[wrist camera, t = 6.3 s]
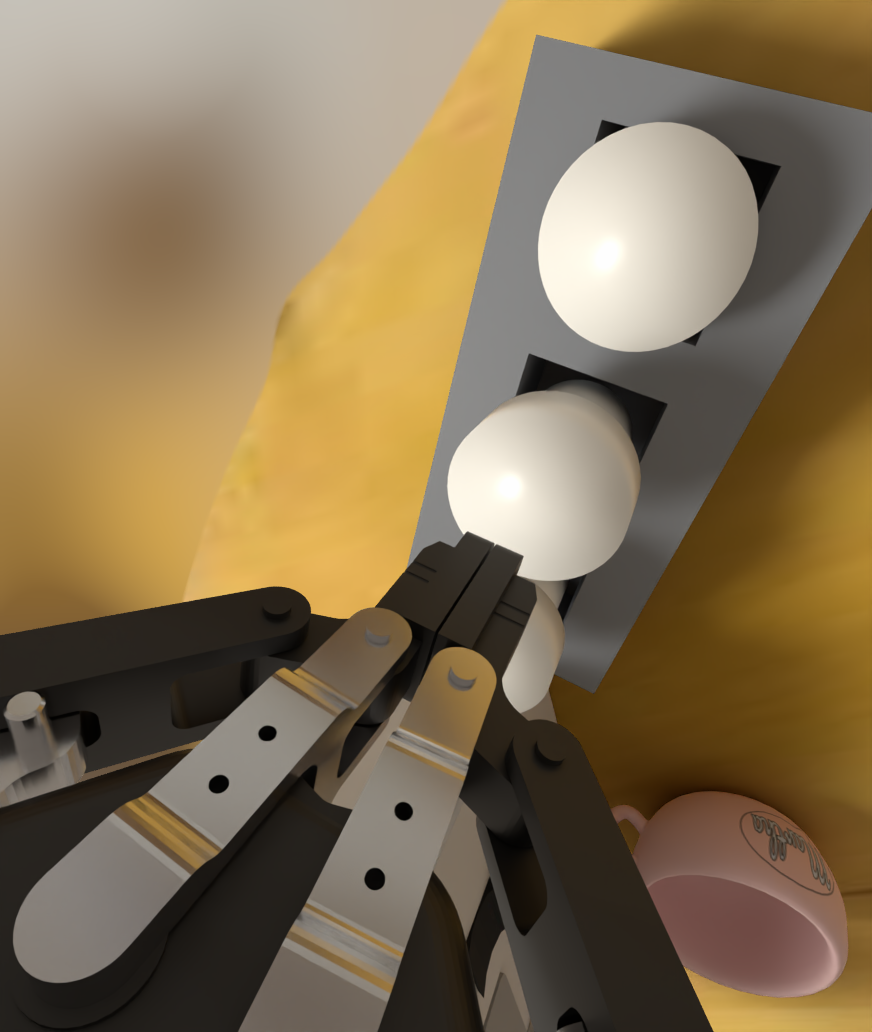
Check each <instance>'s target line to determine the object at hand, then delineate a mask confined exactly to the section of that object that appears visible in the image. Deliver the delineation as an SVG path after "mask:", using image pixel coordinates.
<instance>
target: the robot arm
mask: <svg viewBox="0 0 872 1032" xmlns="http://www.w3.org/2000/svg"><path fill="white" fill-rule="evenodd" d="M494 545H495V543H493V542H491V541H489V540H487V539H484V538H482V537H480V536H478V535H475V534H473V533H471V532H469V531H467V532H466V533H465V534H464V536H463V537H462V538H461V540H460V541H459V542H458V544H457V545H456V546H455V547H452V546H450V545H448V544H446V543H444V542H441V541H439V542H436V543H434V544H432V545H430V546H427V547H425V548H423V549H422V551H421V552H420V553H419V554H418V556H417V557H416V558H415V559H414V561H413V563H411V564H410V565H409V566H408V568H407V569H406V570H405V572H404V573H403V574H402V575H401V576H400V577H399V579H398V580H397V581H396V582H395V583H394V585H393V586H392V587H391V588H390V589H389V591H388V592H387V593H386V594H385V596H384V597H383V598H382V599H381V600H380V602H379V603H378V604H377V605H376V606H375V608H367V609H363V610H360V611H358V612H357V613H355V614H354V615H353V616H351V617H350V618H349V619H337V618H331V617H326V616H321V615H316V614H311V607H310V604H309V602H308V601H307V599H306V598H305V597H304V596H303V595H302V594H300V593H299V592H297V591H295V590H293V589H290V588H286V587H266V588H261V589H255V590H250V591H244V592H239V593H233V594H228V595H222V596H216V597H211V598H205V599H200V600H194V601H189V602H183V603H178V604H172V605H166V606H161V607H155V608H150V609H144V610H139V611H133V612H128V613H123V614H116V615H111V616H105V617H100V618H94V619H89V620H84V621H78V622H73V623H66V624H61V625H55V626H50V627H44V628H38V629H33V630H28V631H22V632H16V633H11V634H5V635H0V1032H484V1027H483V1022H482V1017H481V1012H480V1007H479V1002H478V998H477V993H476V988H475V983H474V978H473V973H472V968H471V963H470V959H469V954H468V949H467V944H466V939H465V935H464V931H463V927H462V924H461V921H460V918H459V915H458V912H457V909H456V907H455V905H454V903H453V901H452V899H451V896H450V895H449V893H448V891H447V890H446V888H445V886H444V885H443V883H442V882H441V880H440V879H439V878H438V876H437V875H436V874H435V873H434V871H433V868H434V865H435V862H436V859H437V857H438V854H439V851H440V848H441V845H442V842H443V840H444V837H445V834H446V831H447V828H448V825H449V822H450V820H451V817H452V814H453V811H454V808H455V805H456V802H457V800H458V797H459V798H460V799H461V800H462V801H463V802H464V803H465V804H466V805H467V806H468V807H469V808H470V809H471V810H472V811H473V812H474V813H475V814H476V827H477V832H478V835H479V839H480V842H481V846H482V850H483V853H484V857H485V860H486V864H487V867H488V871H489V874H490V878H491V881H492V885H493V888H494V892H495V895H496V899H497V902H498V906H499V910H500V913H501V917H502V920H503V924H504V927H505V931H506V934H507V938H508V941H509V945H510V948H511V952H512V955H513V959H514V962H515V966H516V969H517V973H518V977H519V980H520V984H521V987H522V991H523V994H524V998H525V1001H526V1005H527V1008H528V1012H529V1015H530V1019H531V1022H532V1026H533V1029H534V1032H713V1030H712V1027H711V1025H710V1023H709V1021H708V1019H707V1017H706V1015H705V1012H704V1010H703V1008H702V1006H701V1004H700V1002H699V999H698V997H697V995H696V993H695V991H694V989H693V986H692V984H691V982H690V980H689V978H688V976H687V973H686V971H685V969H684V967H683V965H682V963H681V960H680V958H679V956H678V954H677V952H676V950H675V948H674V945H673V943H672V941H671V939H670V937H669V935H668V932H667V930H666V928H665V926H664V924H663V922H662V919H661V917H660V915H659V913H658V911H657V909H656V906H655V904H654V902H653V900H652V898H651V896H650V893H649V891H648V889H647V887H646V885H645V883H644V881H643V878H642V876H641V874H640V872H639V870H638V868H637V865H636V863H635V861H634V859H633V857H632V855H631V852H630V850H629V848H628V846H627V844H626V842H625V839H624V837H623V835H622V833H621V831H620V829H619V826H618V824H617V822H616V820H615V818H614V816H613V814H612V811H611V809H610V807H609V805H608V803H607V801H606V798H605V796H604V794H603V792H602V790H601V788H600V785H599V783H598V781H597V779H596V777H595V775H594V772H593V770H592V768H591V766H590V764H589V762H588V759H587V757H586V755H585V753H584V751H583V749H582V747H581V745H580V743H579V742H578V740H577V739H576V738H575V737H574V735H573V734H572V733H571V732H569V731H568V730H567V729H566V728H564V727H563V726H561V725H559V724H557V723H555V722H552V721H549V720H543V719H535V720H530V721H528V720H527V719H526V718H525V717H524V716H523V715H521V714H520V713H519V712H518V711H517V710H516V709H515V708H514V707H513V706H512V704H511V703H510V702H509V700H508V698H507V697H506V694H505V692H504V689H503V684H502V678H503V676H504V674H505V672H506V670H507V668H508V665H509V663H510V661H511V659H512V657H513V655H514V652H515V650H516V648H517V646H518V644H519V642H520V639H521V637H522V635H523V632H524V630H525V628H526V625H527V623H528V621H529V618H530V616H531V614H532V611H533V609H534V607H535V604H536V602H537V595H536V587H535V584H534V583H532V582H530V581H528V580H526V579H523V578H521V577H519V576H517V573H518V571H519V568H520V566H521V563H522V560H523V557H524V556H523V555H521V554H518V553H516V552H514V551H512V550H509V549H507V548H505V547H503V546H500V545H498V544H496V545H495V546H494ZM402 698H403V699H405V700H407V701H409V702H411V703H410V705H409V707H408V709H407V711H406V713H405V715H404V717H403V719H402V721H401V723H400V725H399V727H398V729H397V731H396V732H395V731H394V732H393V733H392V734H391V736H390V737H389V739H388V741H387V743H386V745H385V747H384V749H383V751H382V753H381V755H380V757H379V759H378V761H377V763H376V765H375V767H374V769H373V771H372V773H371V775H370V777H369V779H368V781H367V783H366V785H365V787H364V789H363V791H362V793H361V795H360V797H359V799H358V801H357V803H356V805H355V807H354V809H353V810H352V809H349V808H345V807H341V806H338V805H334V804H332V801H333V799H334V797H335V796H336V794H337V792H338V791H339V789H340V788H341V786H342V785H343V783H344V782H345V781H346V779H347V778H348V777H349V776H350V774H351V773H352V772H353V770H354V769H355V768H356V766H357V765H358V764H359V762H360V761H361V760H362V758H363V757H364V756H365V754H366V753H367V752H368V750H369V749H370V748H371V746H372V745H373V744H374V742H375V741H376V740H377V738H378V737H379V736H380V734H381V733H382V732H383V730H384V729H385V728H386V726H387V725H388V723H389V720H390V716H391V715H392V714H393V712H394V711H395V709H396V708H397V706H398V705H399V703H400V701H401V700H402ZM202 739H204V740H203V741H202V742H201V743H199V744H198V745H197V746H196V747H195V748H194V749H187V750H182V751H177V752H173V753H170V754H166V755H163V756H160V757H157V758H154V759H151V760H148V761H144V762H141V763H138V764H135V765H133V766H129V767H126V768H123V769H120V770H116V771H113V772H110V773H107V774H104V775H101V776H98V777H95V778H92V779H89V780H86V781H82V782H79V783H77V782H78V781H79V780H80V779H81V777H82V775H83V774H84V773H88V772H91V771H94V770H98V769H101V768H105V767H108V766H112V765H115V764H119V763H122V762H126V761H129V760H133V759H136V758H140V757H143V756H147V755H150V754H154V753H157V752H160V751H164V750H167V749H171V748H175V747H178V746H182V745H185V744H189V743H192V742H195V741H198V740H202Z"/></svg>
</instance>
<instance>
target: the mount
mask: <svg viewBox="0 0 872 1032" xmlns="http://www.w3.org/2000/svg"><path fill="white" fill-rule="evenodd" d="M653 122H672V123H678V124H684V125H688V126H691V127H694V128H697V129H700V130H702V131H704V132H706V133H708V134H710V135H711V136H713V137H715V138H716V139H718V140H719V141H720V142H721V143H723V144H724V145H725V146H727V147H728V148H729V149H730V150H731V151H732V152H733V153H734V155H735V156H736V157H737V158H738V159H739V161H740V162H741V164H742V165H743V167H744V168H745V170H746V172H747V174H748V176H749V178H750V180H751V183H752V186H753V190H754V193H755V197H756V202H757V209H758V237H757V243H756V249H755V253H754V256H753V260H752V264H751V266H750V268H749V271H748V273H747V276H746V278H745V280H744V282H743V284H742V285H741V287H740V289H739V291H738V292H737V294H736V295H735V297H734V298H733V299H732V301H731V302H730V303H729V305H728V306H727V307H726V308H725V309H724V310H723V311H722V312H721V313H720V315H719V316H718V317H717V318H716V319H714V320H713V321H712V322H711V323H710V324H708V325H707V326H706V327H705V328H703V329H702V330H700V331H699V332H697V333H696V334H694V335H693V336H691V337H689V338H687V339H685V340H683V341H681V342H679V343H676V344H674V345H671V346H668V347H665V348H661V349H657V350H652V351H643V352H625V351H618V350H612V349H609V348H605V347H602V346H599V345H597V344H595V343H592V342H590V341H588V340H587V339H585V338H583V337H582V336H580V335H579V334H577V333H576V332H575V331H574V330H572V329H571V328H570V327H569V326H568V325H567V324H566V323H565V322H564V321H563V320H562V319H561V317H560V316H559V315H558V313H557V312H556V311H555V309H554V308H553V306H552V304H551V302H550V300H549V299H548V297H547V294H546V291H545V289H544V286H543V283H542V279H541V275H540V270H539V262H538V241H539V232H540V227H541V223H542V218H543V215H544V212H545V209H546V206H547V204H548V201H549V199H550V197H551V195H552V193H553V191H554V189H555V187H556V186H557V184H558V183H559V181H560V179H561V178H562V176H563V175H564V174H565V173H566V171H567V170H568V169H569V168H570V166H571V165H572V164H573V163H574V162H575V161H576V160H577V159H578V158H579V157H580V156H581V155H582V154H583V153H584V152H585V151H587V150H588V149H589V148H591V147H592V146H593V145H594V144H596V143H597V142H599V141H601V140H602V139H604V138H606V137H607V136H609V135H611V134H613V133H616V132H618V131H620V130H622V129H625V128H628V127H632V126H635V125H639V124H645V123H653ZM871 209H872V112H868V111H863V110H859V109H855V108H850V107H846V106H842V105H837V104H833V103H829V102H825V101H820V100H816V99H812V98H807V97H803V96H799V95H794V94H790V93H786V92H781V91H777V90H773V89H768V88H764V87H760V86H755V85H751V84H747V83H743V82H738V81H734V80H730V79H725V78H721V77H717V76H712V75H708V74H704V73H699V72H695V71H691V70H686V69H682V68H678V67H674V66H669V65H665V64H661V63H656V62H652V61H648V60H643V59H639V58H635V57H630V56H626V55H622V54H617V53H613V52H609V51H604V50H600V49H596V48H592V47H587V46H583V45H579V44H574V43H570V42H566V41H561V40H557V39H553V38H548V37H544V36H540V35H536V38H535V42H534V46H533V50H532V54H531V59H530V63H529V67H528V71H527V75H526V79H525V83H524V87H523V92H522V96H521V100H520V104H519V108H518V112H517V116H516V120H515V125H514V129H513V133H512V137H511V141H510V145H509V149H508V153H507V158H506V162H505V166H504V170H503V174H502V178H501V182H500V186H499V190H498V195H497V199H496V203H495V207H494V211H493V215H492V219H491V223H490V228H489V232H488V236H487V240H486V244H485V248H484V252H483V256H482V261H481V265H480V269H479V273H478V277H477V281H476V285H475V289H474V294H473V298H472V302H471V306H470V310H469V314H468V318H467V322H466V327H465V331H464V335H463V339H462V343H461V347H460V351H459V355H458V360H457V364H456V368H455V372H454V376H453V380H452V384H451V388H450V392H449V397H448V401H447V405H446V409H445V413H444V417H443V421H442V425H441V430H440V434H439V438H438V442H437V446H436V450H435V454H434V458H433V463H432V467H431V471H430V475H429V479H428V483H427V487H426V491H425V496H424V500H423V504H422V508H421V512H420V516H419V520H418V524H417V529H416V533H415V537H414V541H413V545H412V549H411V553H410V557H409V561H408V566H409V565H410V564H411V563H413V561H414V559H415V558H416V557H417V556H418V554H419V553H420V552H421V551H422V549H423V548H425V547H427V546H430V545H432V544H434V543H436V542H439V541H441V542H444V543H446V544H448V545H450V546H452V547H455V546H456V545H457V544H458V542H459V541H460V540H461V538H462V537H463V536H464V534H463V533H462V531H461V530H460V528H459V527H458V524H457V522H456V520H455V518H454V516H453V513H452V510H451V507H450V503H449V498H448V488H447V484H448V473H449V468H450V464H451V461H452V458H453V456H454V454H455V452H456V450H457V448H458V447H459V445H460V444H461V442H462V441H463V440H464V438H465V437H466V436H467V435H468V434H469V433H470V432H471V431H472V430H473V429H475V428H476V427H477V426H478V425H479V424H480V423H481V422H482V421H483V420H484V419H485V418H486V417H487V416H488V415H489V414H490V413H491V412H492V411H493V410H494V409H496V408H497V407H498V406H500V405H501V404H502V403H504V402H506V401H508V400H509V399H511V398H514V397H516V396H519V395H521V394H525V393H530V392H535V391H545V390H546V389H548V388H549V387H551V386H553V385H555V384H557V383H560V382H563V381H567V380H587V381H592V382H595V383H598V384H601V385H603V386H605V387H606V388H608V389H610V390H611V391H612V392H614V393H615V394H616V395H617V396H618V397H619V398H620V399H621V400H622V402H623V403H624V404H625V406H626V408H627V410H628V411H629V414H630V417H631V420H632V424H633V440H632V443H633V445H634V448H635V450H636V453H637V456H638V460H639V465H640V474H641V481H640V490H639V495H638V499H637V502H636V505H635V508H634V511H633V514H632V517H631V520H630V523H629V526H628V529H627V532H626V534H625V537H624V539H623V541H622V543H621V544H620V546H619V548H618V549H617V551H616V552H615V553H614V554H613V555H612V556H611V558H610V559H608V560H607V561H606V562H605V563H604V564H603V565H601V566H600V567H598V568H597V569H595V570H593V571H591V572H589V573H587V574H585V575H582V576H579V577H576V578H572V579H569V581H568V585H567V588H566V590H565V593H564V595H563V597H562V600H561V602H560V604H559V607H558V609H557V610H558V612H559V614H560V616H561V618H562V622H563V625H564V631H565V644H564V649H563V652H562V654H561V657H560V660H559V662H558V665H557V668H556V670H555V673H554V674H555V675H557V676H559V677H561V678H563V679H565V680H567V681H569V682H571V683H573V684H575V685H577V686H579V687H581V688H583V689H585V690H587V691H589V692H591V693H593V694H594V693H595V691H596V689H597V688H598V686H599V684H600V682H601V681H602V679H603V677H604V676H605V674H606V672H607V670H608V669H609V667H610V665H611V663H612V662H613V660H614V658H615V656H616V655H617V653H618V651H619V649H620V648H621V646H622V644H623V642H624V641H625V639H626V637H627V635H628V634H629V632H630V630H631V628H632V627H633V625H634V623H635V621H636V620H637V618H638V616H639V614H640V613H641V611H642V609H643V607H644V606H645V604H646V602H647V600H648V599H649V597H650V595H651V593H652V592H653V590H654V588H655V586H656V585H657V583H658V581H659V579H660V578H661V576H662V574H663V572H664V571H665V569H666V567H667V565H668V564H669V562H670V560H671V558H672V557H673V555H674V553H675V551H676V550H677V548H678V546H679V544H680V543H681V541H682V539H683V537H684V536H685V534H686V532H687V530H688V529H689V527H690V525H691V523H692V522H693V520H694V518H695V516H696V515H697V513H698V511H699V509H700V508H701V506H702V504H703V502H704V501H705V499H706V497H707V495H708V494H709V492H710V490H711V488H712V487H713V485H714V483H715V481H716V480H717V478H718V476H719V474H720V473H721V471H722V469H723V467H724V466H725V464H726V462H727V460H728V459H729V457H730V455H731V453H732V452H733V450H734V448H735V446H736V445H737V443H738V441H739V439H740V438H741V436H742V434H743V433H744V431H745V429H746V427H747V426H748V424H749V422H750V420H751V419H752V417H753V415H754V413H755V412H756V410H757V408H758V406H759V405H760V403H761V401H762V399H763V398H764V396H765V394H766V392H767V391H768V389H769V387H770V385H771V384H772V382H773V380H774V378H775V377H776V375H777V373H778V371H779V370H780V368H781V366H782V364H783V363H784V361H785V359H786V357H787V356H788V354H789V352H790V350H791V349H792V347H793V345H794V343H795V342H796V340H797V338H798V336H799V335H800V333H801V331H802V329H803V328H804V326H805V324H806V322H807V321H808V319H809V317H810V315H811V314H812V312H813V310H814V308H815V307H816V305H817V303H818V301H819V300H820V298H821V296H822V294H823V293H824V291H825V289H826V287H827V286H828V284H829V282H830V280H831V279H832V277H833V275H834V273H835V272H836V270H837V268H838V266H839V265H840V263H841V261H842V259H843V258H844V256H845V254H846V252H847V251H848V249H849V247H850V245H851V244H852V242H853V240H854V238H855V237H856V235H857V233H858V231H859V230H860V228H861V226H862V224H863V223H864V221H865V219H866V217H867V216H868V214H869V212H870V210H871ZM408 566H407V568H408Z"/></svg>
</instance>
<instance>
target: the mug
mask: <svg viewBox="0 0 872 1032" xmlns="http://www.w3.org/2000/svg"><path fill="white" fill-rule="evenodd" d="M611 811H612V814H613V816H614V818H615V820H616V822H617V824H618V823H619V822H620V821H621V820H623V819H627V820H629V821H630V822H631V823H632V824H633V825H634V827H635V828H636V829H637V830H638V832H639V833H640V837H639V839H638V842H637V844H636V846H635V848H634V853H633V854H631V855H632V857H633V859H634V861H635V863H636V865H637V868H638V870H639V872H640V874H641V876H642V878H643V881H644V883H645V885H646V887H647V889H648V891H649V893H650V896H651V898H652V900H653V902H654V904H655V906H656V909H657V911H658V913H659V915H660V917H661V919H662V922H663V924H664V926H665V928H666V930H667V932H668V935H669V937H670V939H671V941H672V943H673V945H674V948H675V950H676V952H677V954H678V956H679V958H680V960H681V963H682V965H683V966H684V967H686V968H688V969H690V970H691V971H693V972H695V973H697V974H699V975H700V976H702V977H705V978H707V979H709V980H712V981H714V982H716V983H718V984H721V985H724V986H727V987H730V988H733V989H736V990H739V991H743V992H747V993H752V994H756V995H762V996H771V997H800V996H805V995H811V994H814V993H817V992H819V991H821V990H823V989H825V988H828V987H829V986H831V985H832V984H833V983H834V982H835V981H836V980H837V979H838V978H839V976H840V975H841V974H842V972H843V970H844V967H845V965H846V962H847V956H848V933H847V918H846V912H845V906H844V902H843V899H842V896H841V893H840V891H839V888H838V885H837V883H836V881H835V878H834V876H833V873H832V872H831V870H830V868H829V867H828V865H827V863H826V862H825V860H824V858H823V857H822V855H821V854H820V852H819V850H818V849H817V847H816V846H815V845H814V843H813V842H812V841H811V839H810V838H809V837H808V836H807V835H806V834H805V832H804V831H803V830H801V829H800V828H799V827H798V826H797V825H796V824H795V823H794V822H793V821H791V820H790V819H789V818H787V817H786V816H784V815H783V814H781V813H780V812H778V811H777V810H775V809H774V808H772V807H770V806H768V805H765V804H763V803H761V802H759V801H757V800H754V799H751V798H748V797H745V796H742V795H737V794H732V793H727V792H716V791H704V792H694V793H690V794H686V795H682V796H679V797H677V798H675V799H673V800H672V801H670V802H668V803H666V804H665V805H664V806H663V807H662V808H661V809H660V810H659V811H657V812H656V814H655V815H654V816H653V817H652V818H651V820H646V819H645V818H644V816H643V815H642V814H641V813H640V812H639V811H638V810H637V809H635V808H633V807H632V806H629V805H619V806H616V807H613V808H612V809H611Z"/></svg>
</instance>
